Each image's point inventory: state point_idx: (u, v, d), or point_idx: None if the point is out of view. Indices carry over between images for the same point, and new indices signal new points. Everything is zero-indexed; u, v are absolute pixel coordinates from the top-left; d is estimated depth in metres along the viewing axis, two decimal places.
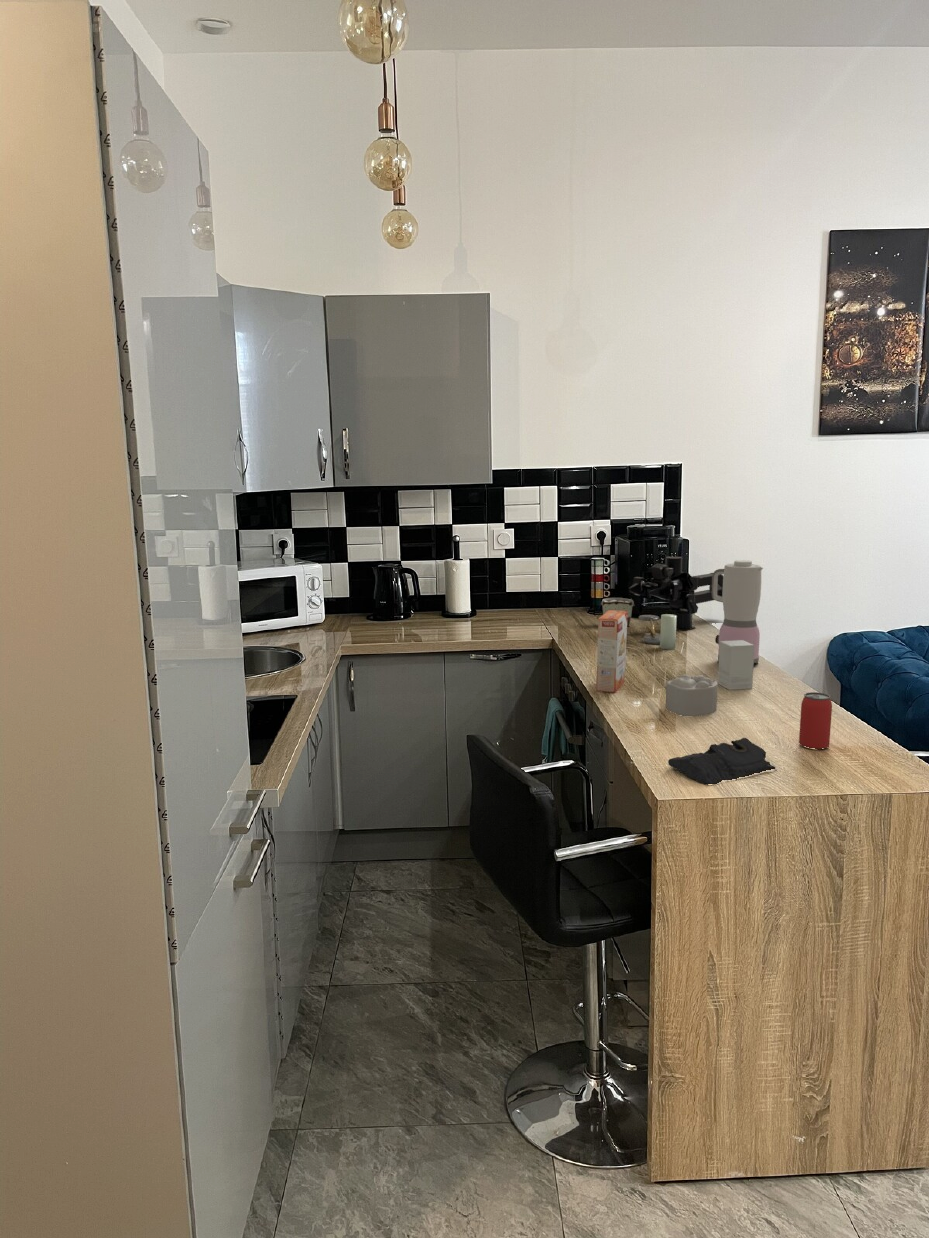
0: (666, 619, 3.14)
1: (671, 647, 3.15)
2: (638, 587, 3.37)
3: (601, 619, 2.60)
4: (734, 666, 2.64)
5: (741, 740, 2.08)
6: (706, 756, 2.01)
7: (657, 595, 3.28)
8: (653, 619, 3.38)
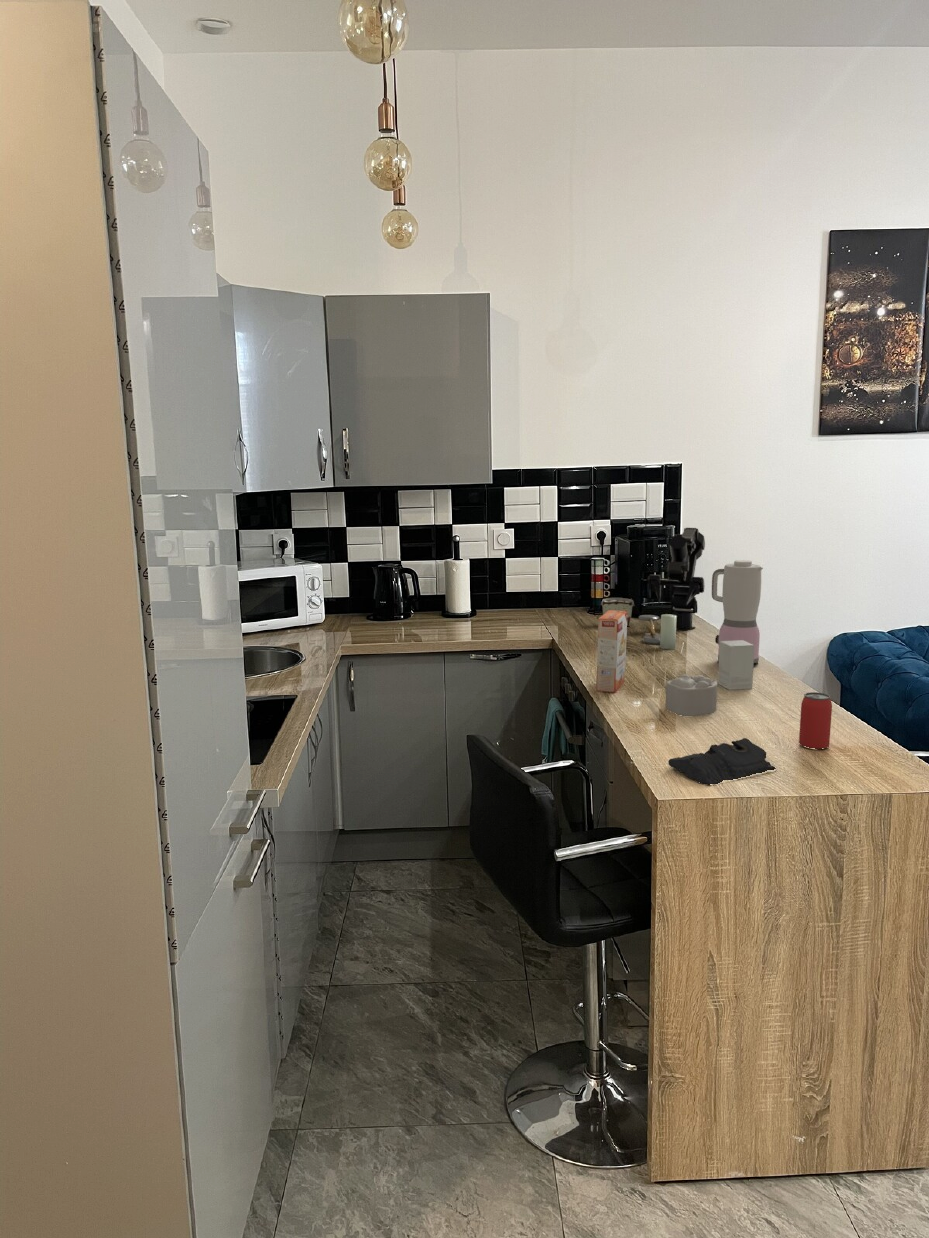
0: (666, 619, 3.14)
1: (671, 647, 3.15)
2: (660, 589, 3.27)
3: (601, 619, 2.60)
4: (734, 666, 2.64)
5: (741, 740, 2.08)
6: (706, 756, 2.00)
7: (690, 599, 3.23)
8: (653, 619, 3.38)
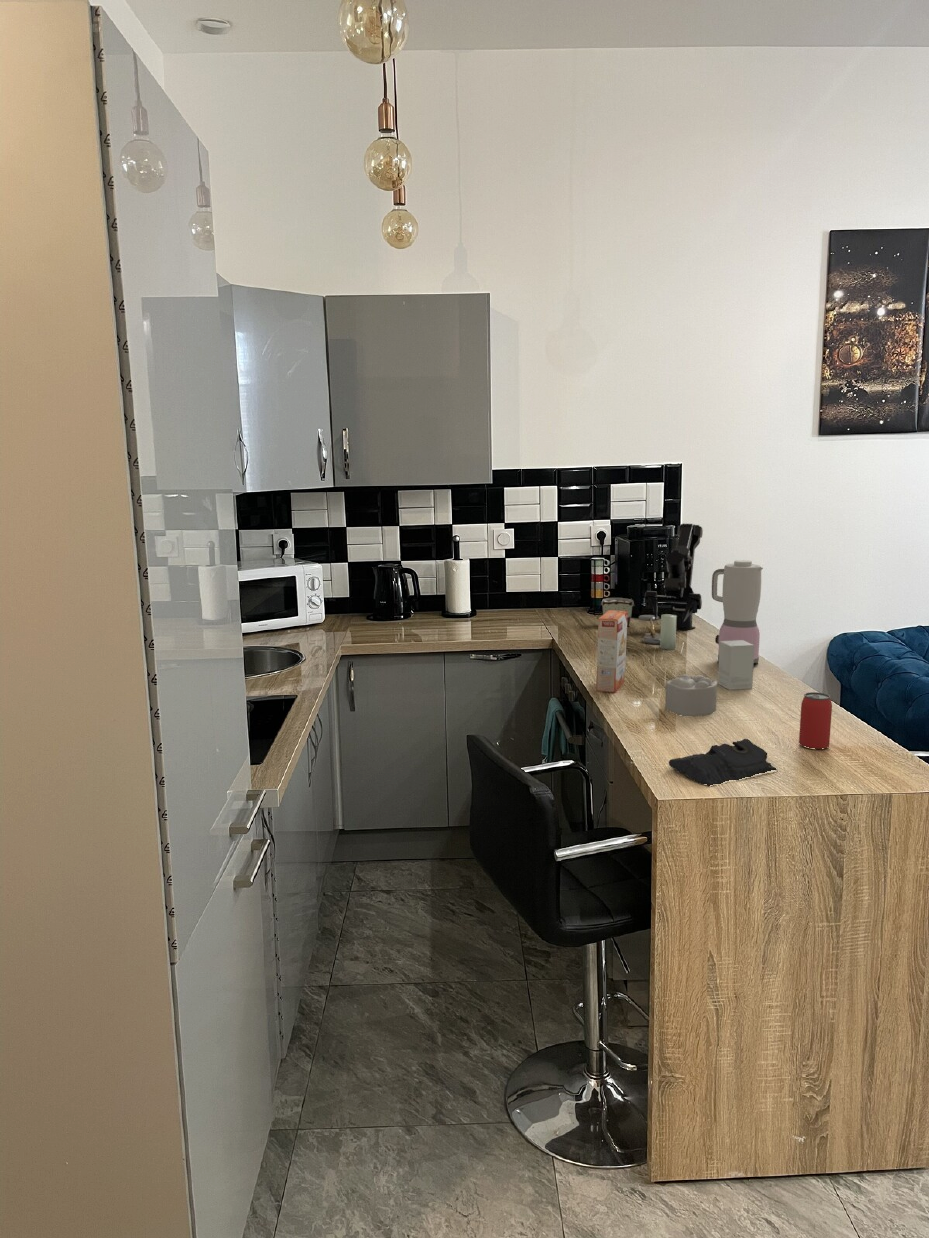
0: (666, 619, 3.14)
1: (671, 647, 3.15)
2: None
3: (601, 619, 2.60)
4: (734, 666, 2.64)
5: (742, 741, 2.08)
6: (707, 757, 2.00)
7: (687, 616, 3.18)
8: (653, 619, 3.38)
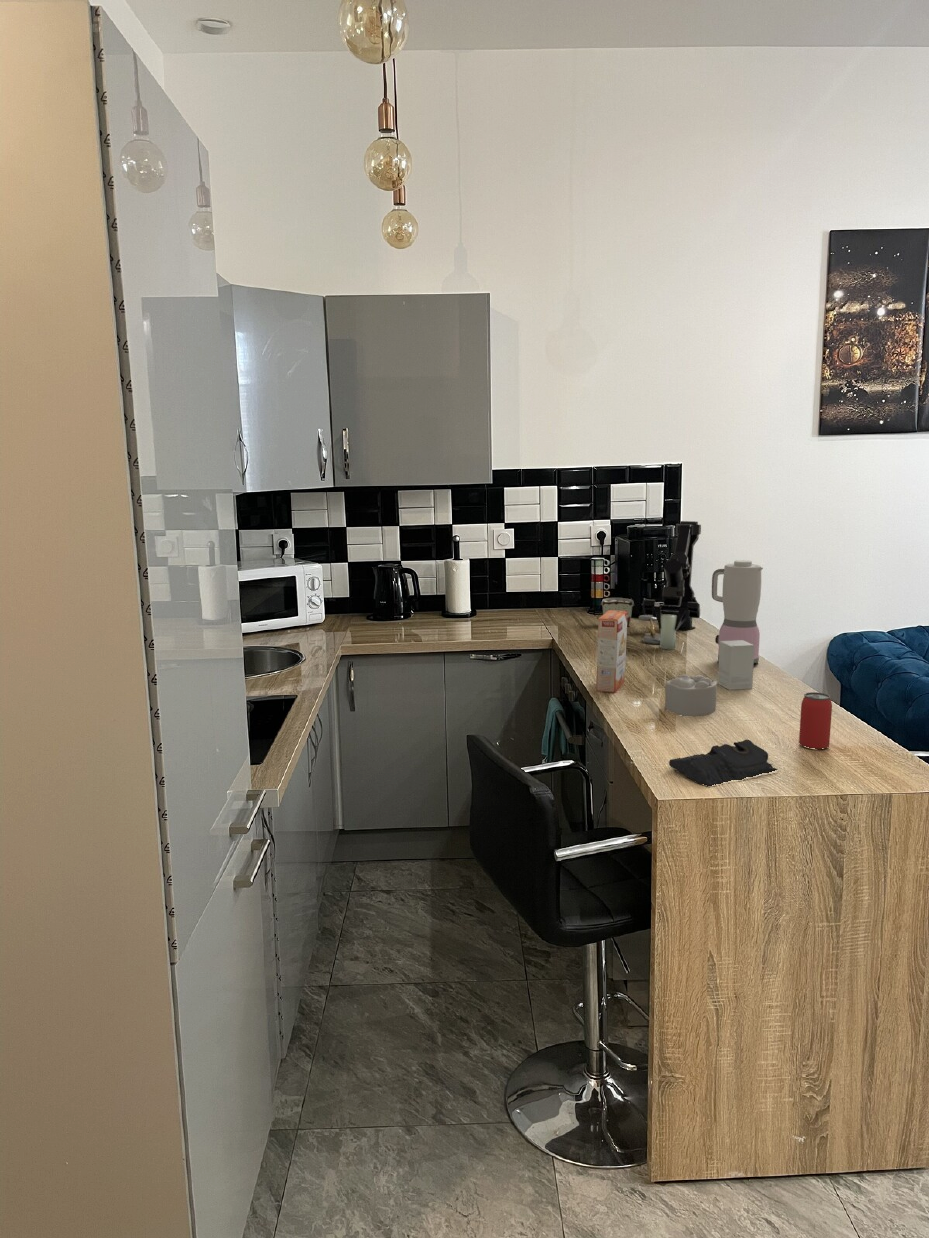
0: (666, 619, 3.14)
1: (671, 647, 3.15)
2: None
3: (601, 619, 2.60)
4: (734, 666, 2.64)
5: (743, 742, 2.07)
6: (707, 757, 2.00)
7: (680, 624, 3.16)
8: (653, 619, 3.38)
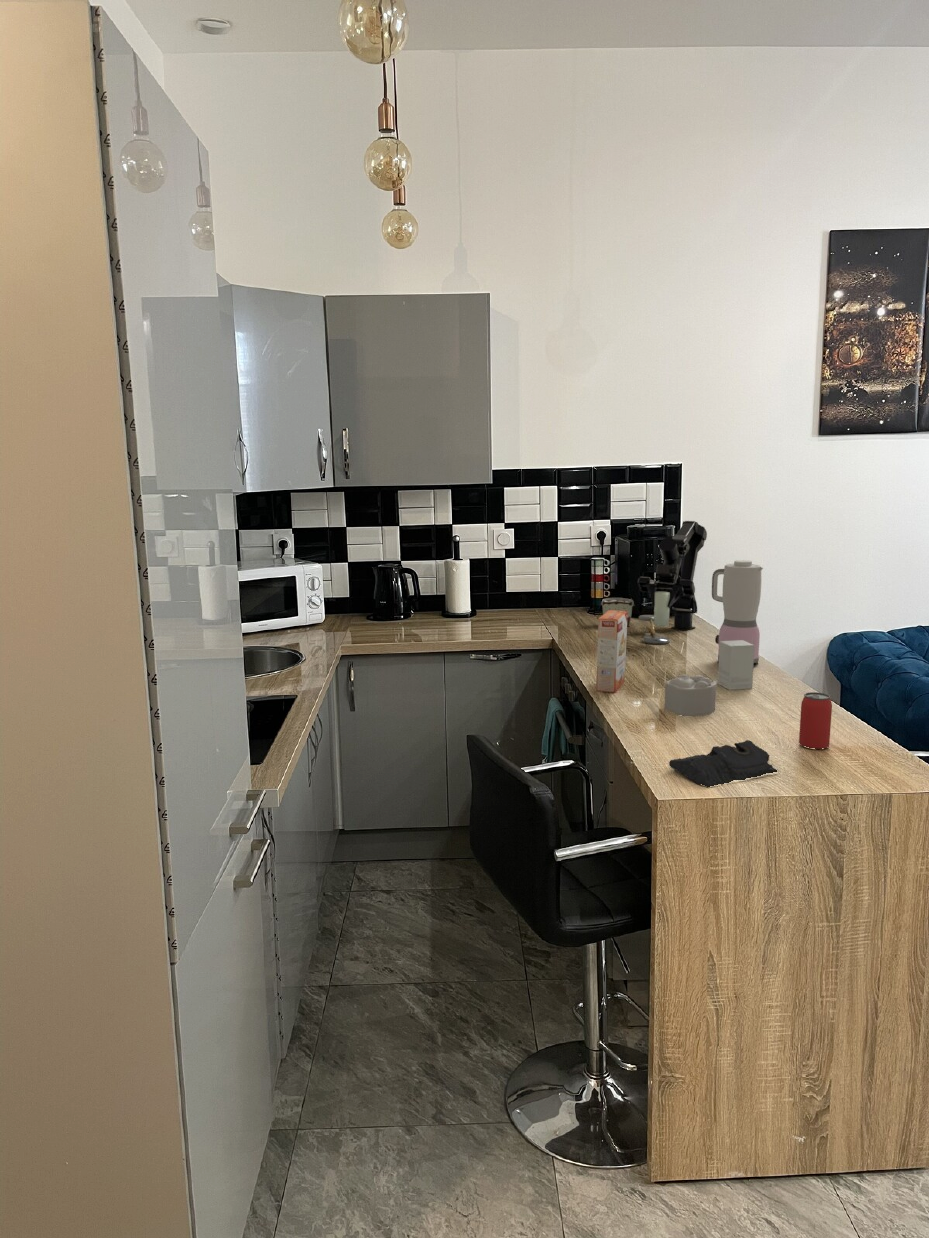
0: (659, 596, 3.18)
1: (664, 624, 3.20)
2: None
3: (601, 619, 2.60)
4: (734, 666, 2.64)
5: (744, 742, 2.07)
6: (707, 758, 1.99)
7: (674, 602, 3.20)
8: (653, 619, 3.38)
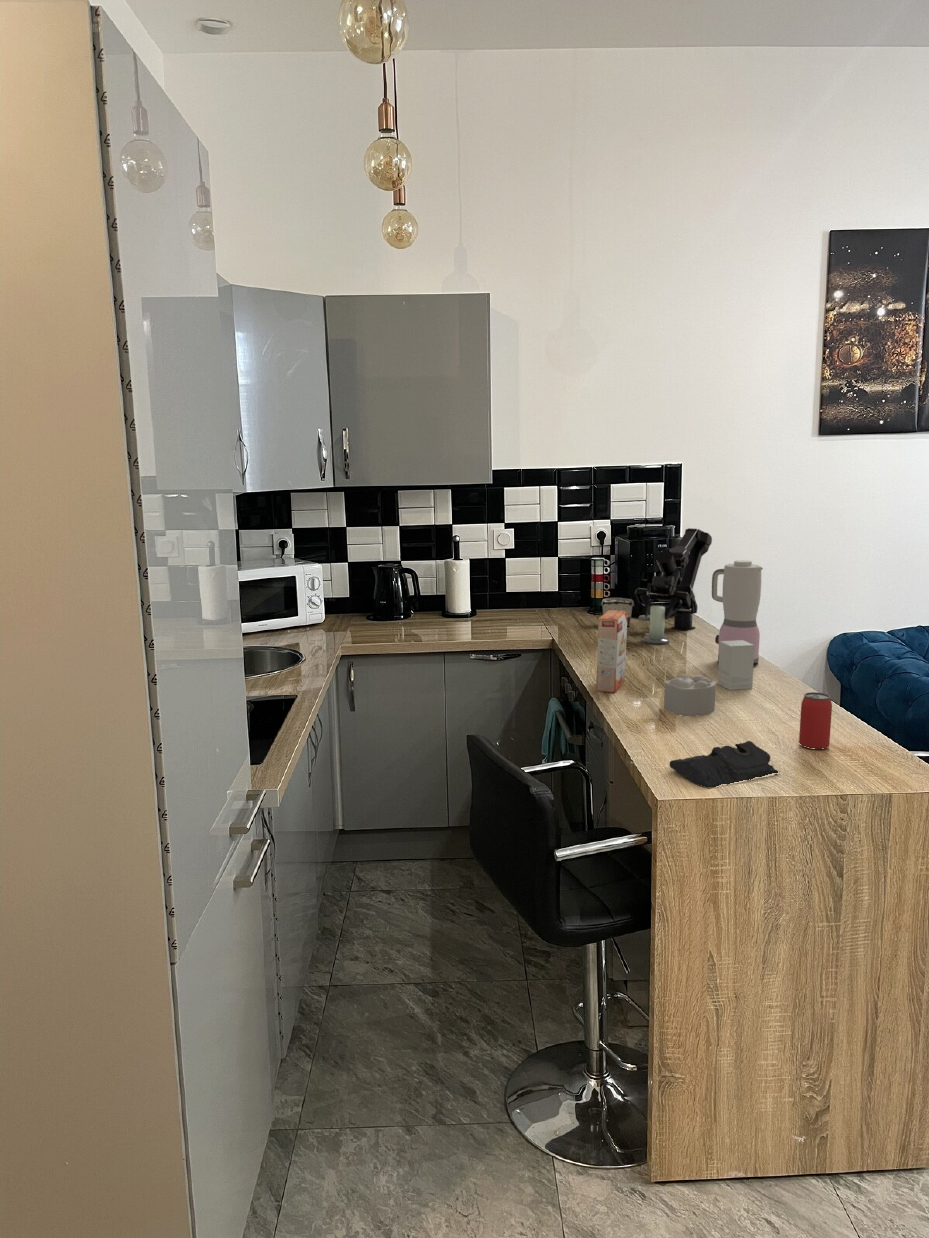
0: (654, 610, 3.23)
1: (658, 638, 3.24)
2: (649, 603, 3.29)
3: (601, 619, 2.60)
4: (734, 666, 2.64)
5: (745, 743, 2.06)
6: (707, 758, 1.99)
7: (671, 613, 3.24)
8: None
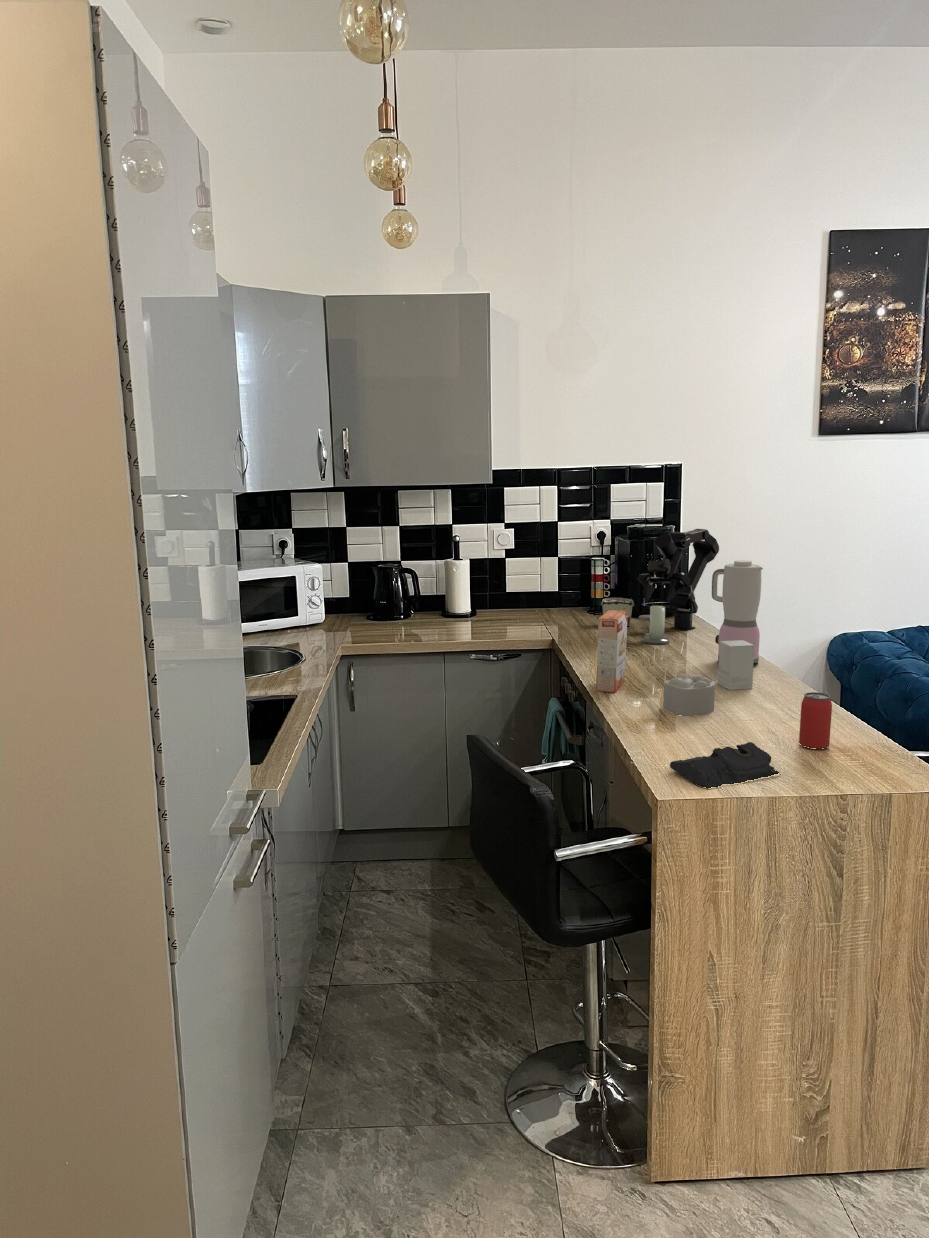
0: (654, 610, 3.23)
1: (658, 638, 3.24)
2: (649, 588, 3.35)
3: (601, 619, 2.60)
4: (734, 666, 2.64)
5: (746, 744, 2.05)
6: (708, 760, 1.99)
7: (674, 595, 3.27)
8: None
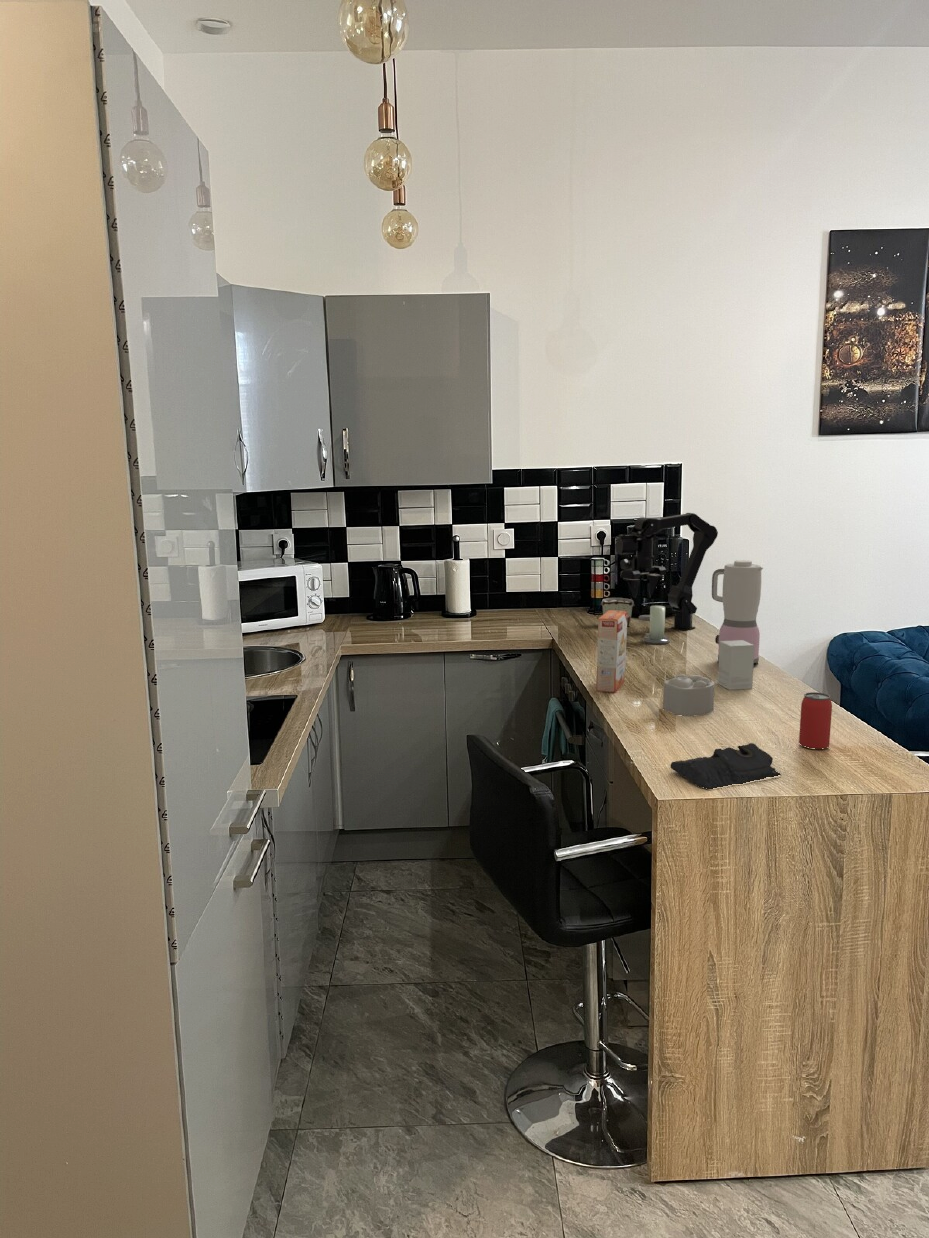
0: (654, 610, 3.23)
1: (658, 638, 3.24)
2: (652, 580, 3.44)
3: (601, 619, 2.60)
4: (734, 666, 2.64)
5: (748, 745, 2.05)
6: (709, 760, 1.98)
7: (635, 590, 3.37)
8: None
